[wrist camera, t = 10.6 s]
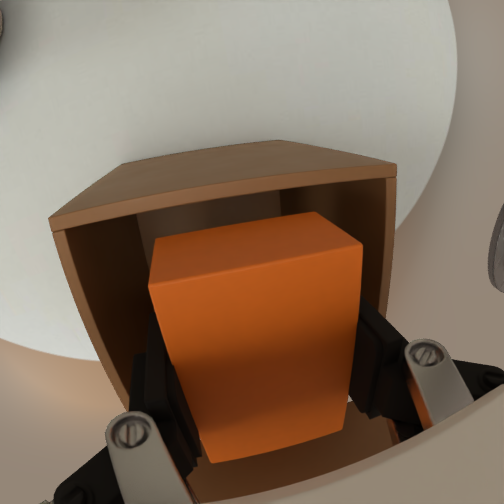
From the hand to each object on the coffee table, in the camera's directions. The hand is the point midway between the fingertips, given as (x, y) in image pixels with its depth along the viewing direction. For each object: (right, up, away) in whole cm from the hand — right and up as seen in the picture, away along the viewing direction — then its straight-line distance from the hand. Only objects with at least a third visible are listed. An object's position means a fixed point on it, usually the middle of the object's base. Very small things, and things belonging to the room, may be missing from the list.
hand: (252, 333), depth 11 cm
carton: (-3, +5, +14) cm, 15 cm away
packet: (0, 0, 0) cm, 0 cm away
